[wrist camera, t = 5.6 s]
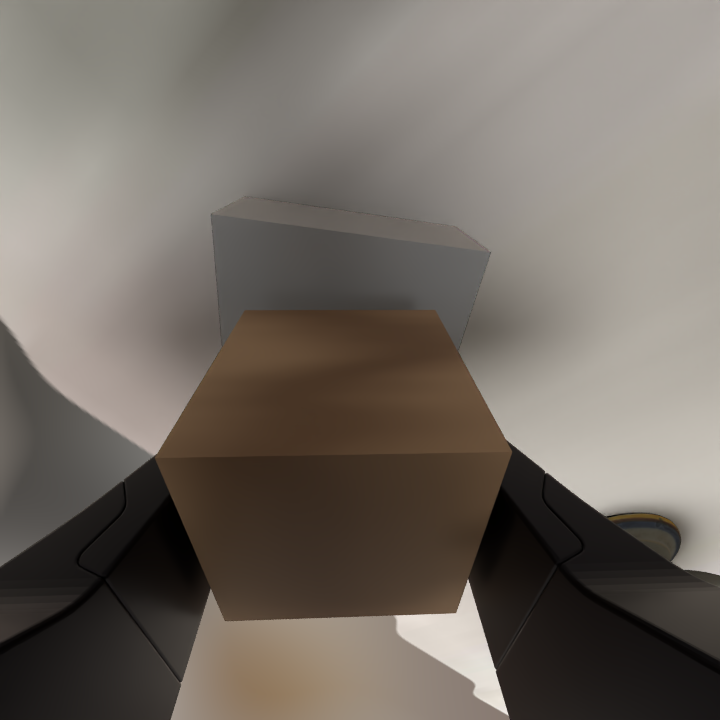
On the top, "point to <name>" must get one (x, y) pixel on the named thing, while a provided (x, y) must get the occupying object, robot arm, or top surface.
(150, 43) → the top surface
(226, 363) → the walnut cube
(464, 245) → the stoneware block
